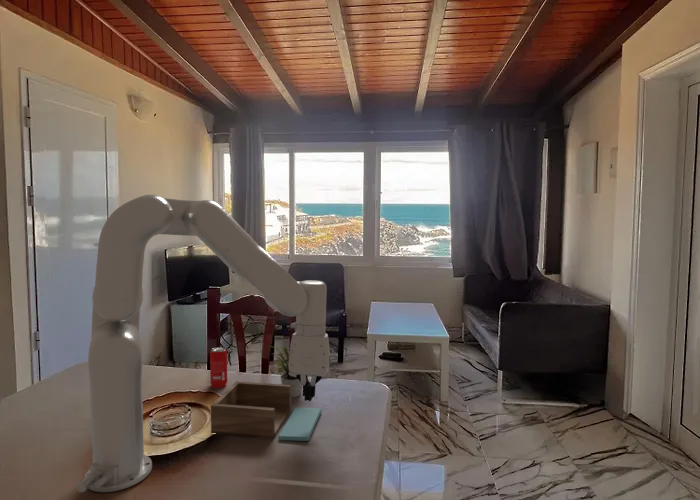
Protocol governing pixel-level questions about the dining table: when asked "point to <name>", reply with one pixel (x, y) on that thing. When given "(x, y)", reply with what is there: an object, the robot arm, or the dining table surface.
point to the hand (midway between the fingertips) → (308, 398)
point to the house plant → (285, 377)
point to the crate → (251, 410)
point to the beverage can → (218, 367)
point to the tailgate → (300, 424)
